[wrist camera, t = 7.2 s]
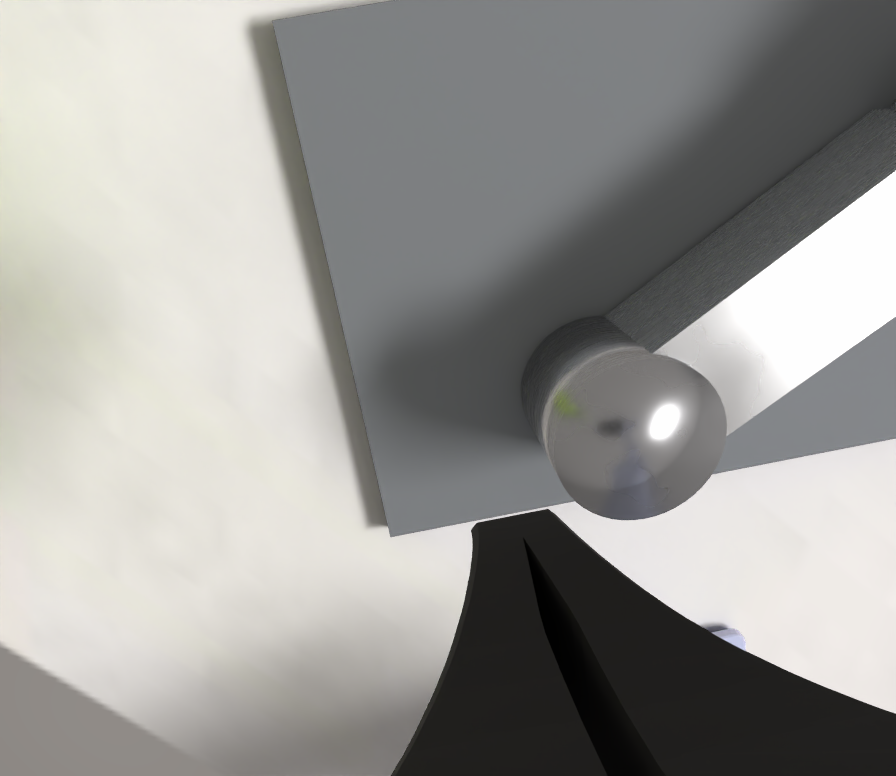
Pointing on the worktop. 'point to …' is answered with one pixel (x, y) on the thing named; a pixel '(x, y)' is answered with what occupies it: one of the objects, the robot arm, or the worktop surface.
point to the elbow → (721, 332)
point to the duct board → (557, 206)
